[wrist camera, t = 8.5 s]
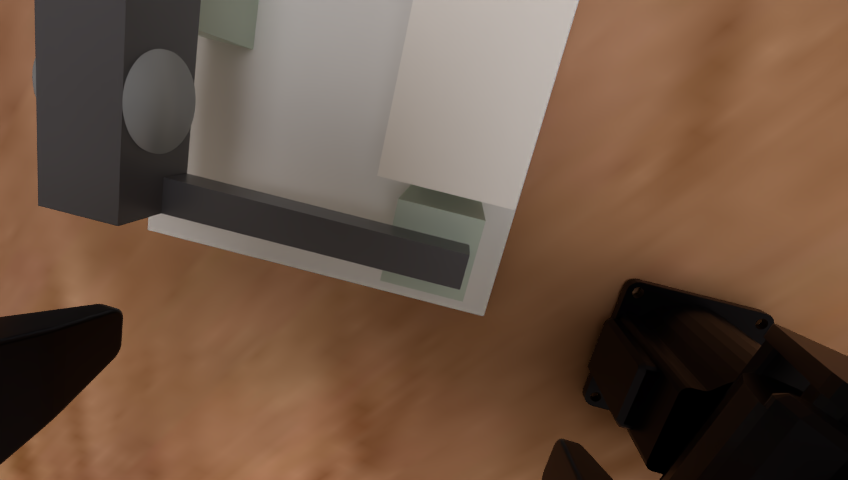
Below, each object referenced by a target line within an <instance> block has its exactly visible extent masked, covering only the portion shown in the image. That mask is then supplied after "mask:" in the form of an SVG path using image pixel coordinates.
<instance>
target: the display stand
mask: <svg viewBox="0 0 848 480" xmlns="http://www.w3.org/2000/svg"><path fill="white" fill-rule="evenodd" d="M578 2H579V0H201V5H200V17H199V30H198V42H197V55H196V68H195V80H194V86H195V95H196V104H195V113H194V118H193V121H192V124H191V131H190V143H189V156H188V168H187V173H188V174H192V175H196V176H200V177H204V178H208V179H211V180H215V181H219V182H223V183H227V184H231V185H235V186H239V187H243V188H247V189H251V190H255V191H259V192H263V193H267V194H271V195H275V196H279V197H283V198H287V199H290V200H294V201H298V202H302V203H306V204H310V205H314V206H318V207H322V208H326V209H330V210H334V211H338V212H342V213H346V214H350V215H354V216H358V217H362V218H366V219H370V220H373V221H377V222H381V223H385V224H389V225H393V226H397V227H401V228H405V229H409V230H413V231H417V232H421V233H425V234H429V235H433V236H437V237H441V238H445V239H449V240H453V241H456V242H460V243H464V244H468V245H469V248H470V256H469V260H468V263H467V267H466V270H465V274H464V277H463V281H462V285H461V288H460V290H458V289H454V288H450V287H446V286H442V285H439V284H435V283H431V282H427V281H423V280H419V279H415V278H411V277H407V276H403V275H400V274H396V273H392V272H388V271H384V270H380V269H376V268H372V267H368V266H364V265H361V264H357V263H353V262H349V261H345V260H341V259H337V258H333V257H329V256H325V255H321V254H318V253H314V252H310V251H306V250H302V249H298V248H294V247H290V246H286V245H282V244H279V243H275V242H271V241H267V240H263V239H259V238H255V237H251V236H247V235H243V234H240V233H236V232H232V231H228V230H224V229H220V228H216V227H212V226H208V225H204V224H200V223H197V222H193V221H189V220H185V219H181V218H177V217H173V216H169V215H165V214H157V215H154V216H151V217H148V230H150V231H154V232H158V233H162V234H166V235H169V236H173V237H177V238H181V239H185V240H189V241H193V242H197V243H201V244H204V245H208V246H212V247H216V248H220V249H224V250H228V251H232V252H235V253H239V254H243V255H247V256H251V257H255V258H259V259H263V260H267V261H270V262H274V263H278V264H282V265H286V266H290V267H294V268H298V269H301V270H305V271H309V272H313V273H317V274H321V275H325V276H329V277H333V278H336V279H340V280H344V281H348V282H352V283H356V284H360V285H364V286H368V287H371V288H375V289H379V290H383V291H387V292H391V293H395V294H399V295H402V296H406V297H410V298H414V299H418V300H422V301H426V302H430V303H434V304H437V305H441V306H445V307H449V308H453V309H457V310H461V311H465V312H468V313H472V314H476V315H480V316H484V314H485V310H486V307H487V304H488V300H489V297H490V294H491V290H492V287H493V284H494V280H495V277H496V274H497V270H498V267H499V264H500V261H501V257H502V254H503V251H504V247H505V244H506V241H507V237H508V234H509V231H510V227H511V224H512V221H513V217H514V214H515V211H516V207H517V204H518V201H519V198H520V194H521V191H522V188H523V184H524V181H525V178H526V174H527V171H528V168H529V164H530V161H531V158H532V154H533V151H534V148H535V144H536V141H537V138H538V135H539V131H540V128H541V125H542V121H543V118H544V115H545V111H546V108H547V105H548V101H549V98H550V95H551V91H552V88H553V85H554V82H555V78H556V75H557V72H558V68H559V65H560V62H561V58H562V55H563V52H564V48H565V45H566V42H567V38H568V35H569V32H570V28H571V25H572V22H573V19H574V15H575V12H576V9H577V5H578Z"/></svg>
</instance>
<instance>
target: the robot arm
mask: <svg viewBox="0 0 848 480" xmlns="http://www.w3.org/2000/svg"><path fill="white" fill-rule="evenodd" d="M637 287H640V292H639V293H638V294H636V295H632V291H633V290H634V289H635V288H637ZM759 319H762V322H761V323H760V324H758V325H755V324H756V322H757V321H758V320H759ZM122 325H123V314H122V312H121V311H120V310H119V309H117V308H114V307H110V306H107V305H103V304H94V305H87V306H79V307H72V308H64V309H57V310H50V311H42V312H35V313H27V314H20V315H12V316H5V317H0V464H2V463H3V462H4V461H5V460H6V459H7V458H9V457H10V456H11V455H12V454H13V453H14V452H16V451H17V450H18V449H19V448H20V447H22V446H23V445H24V444H25V443H26V442H27V441H29V440H30V439H31V438H32V437H33V436H34V435H36V434H37V433H38V432H39V431H40V430H41V429H43V428H44V427H45V426H46V425H47V424H48V423H49V422H51V421H52V420H53V419H54V418H55V417H56V416H57V415H58V414H59V413H60V412H61V411H62V410H63V409H64V408H65V407H66V406H67V405H68V404H69V403H70V402H71V401H72V400H73V399H74V398H75V397H76V396H77V395H78V394H79V393H80V392H81V391H82V390H83V389H84V388H85V387H86V386H87V385H88V384H89V383H90V382H91V381H92V380H93V379H94V378H95V377H96V376H97V375H98V374H99V373H100V372H101V371H102V370H103V369H104V368H105V367H106V366H107V365H108V364H109V363H110V362H111V361H112V360H113V359H114V358H115V357H116V355H117V354H118V352H119V350H120V347H121V341H122ZM588 368H589V370H590V373H589V376H588V378H587V381H586V383H585V386H584V388H583V395H584V398H585V400H586V402H587V403H588V404H590V405H592V406H596V407H599V408H603V409H607V410H610V411H611V413H612V415H613V417H614V419H615V421H616V423H617V424H618V426H619V427H622V428H626V429H627V430H628V432H629V434H630V436H631V438H632V440H633V442H634V444H635V446H636V447H637V449H638V451H639V453H640V455H641V457H642V459H643V461H644V463H645V464H646V466H647V468H648V469H649V470H651V471H653V472H657V473H661V474H663V476H662V477H661V478H660V480H848V356H846V355H843V354H841V353H839V352H837V351H835V350H832V349H830V348H828V347H826V346H824V345H821V344H819V343H817V342H815V341H812V340H810V339H808V338H806V337H804V336H801V335H799V334H797V333H795V332H793V331H790V330H788V329H786V328H784V327H781V326H779V325H777V324H775V323H774V320H773V318H772V317H771V316H770V315H769V314H767V313H765V312H764V311H761V310H758V309H754V308H750V307H746V306H742V305H738V304H734V303H730V302H726V301H723V300H719V299H715V298H711V297H707V296H703V295H699V294H695V293H691V292H687V291H683V290H679V289H675V288H671V287H667V286H663V285H659V284H655V283H651V282H647V281H643V280H639V279H632V280H629V281H628V282H627V283H626V284H625V285H624V287H623V289H622V292H621V295H620V297H619V300H618V302H617V305H616V307H615V310H614V312H613V315H612V317H611V318H610V319H608V320H607V321H605V323H604V326H603V328H602V331H601V333H600V336H599V339H598V341H597V344H596V346H595V349H594V351H593V354H592V356H591V359H590V362H589V364H588ZM594 392H598V395H596V396H590V395H591V394H592V393H594ZM542 480H613V479H612V478H611V477H610V476H609V475H608V474H607V472H606V471H605V470H604V469H603V468H602V467H601V466H600V465H599V464H598V463H597V462H596V461H595V459H594V458H593V457H592V456H591V455H590V454H589V453H588V452H587V451H586V450H585V449H584V448H583V446H581V445H580V444H578V443H575V442H572V441H568V440H565V439H559V440H557V442H556V443H555V445H554V447H553V450H552V452H551V455H550V457H549V459H548V462H547V464H546V467H545V469H544V472H543V476H542Z"/></svg>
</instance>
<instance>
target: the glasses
mask: <svg viewBox="0 0 848 480" xmlns="http://www.w3.org/2000/svg"><path fill="white" fill-rule="evenodd" d="M200 5H201V0H35V50H36V58H35V61H34V66H33V76H32V78H33V88H34V92H35V96H36V105H37V160H38V206H42V207H46V208H50V209H54V210H58V211H62V212H65V213H69V214H73V215H77V216H81V217H85V218H89V219H93V220H97V221H100V222H104V223H108V224H112V225H116V226H120V225H123V224H127V223H130V222H133V221H137V220H140V219H144V218H147V217H151V216H154V215H157V214H165V215H169V216H173V217H177V218H181V219H185V220H189V221H193V222H197V223H200V224H204V225H208V226H212V227H216V228H220V229H224V230H228V231H232V232H236V233H240V234H243V235H247V236H251V237H255V238H259V239H263V240H267V241H271V242H275V243H279V244H282V245H286V246H290V247H294V248H298V249H302V250H306V251H310V252H314V253H318V254H321V255H325V256H329V257H333V258H337V259H341V260H345V261H349V262H353V263H357V264H361V265H364V266H368V267H372V268H376V269H380V270H384V271H388V272H392V273H396V274H400V275H403V276H407V277H411V278H415V279H419V280H423V281H427V282H431V283H435V284H439V285H442V286H446V287H450V288H454V289H458V290H460V288H461V285H462V281H463V277H464V274H465V270H466V267H467V263H468V260H469V256H470V248H469V245H468V244H464V243H460V242H456V241H453V240H449V239H445V238H441V237H437V236H433V235H429V234H425V233H421V232H417V231H413V230H409V229H405V228H401V227H397V226H393V225H389V224H385V223H381V222H377V221H373V220H370V219H366V218H362V217H358V216H354V215H350V214H346V213H342V212H338V211H334V210H330V209H326V208H322V207H318V206H314V205H310V204H306V203H302V202H298V201H294V200H290V199H287V198H283V197H279V196H275V195H271V194H267V193H263V192H259V191H255V190H251V189H247V188H243V187H239V186H235V185H231V184H227V183H223V182H219V181H215V180H211V179H208V178H204V177H200V176H196V175H192V174H188V173H187V168H188V156H189V143H190V131H191V124H192V121H193V118H194V113H195V104H196V95H195V86H194V80H195V68H196V55H197V42H198V30H199V17H200Z"/></svg>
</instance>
